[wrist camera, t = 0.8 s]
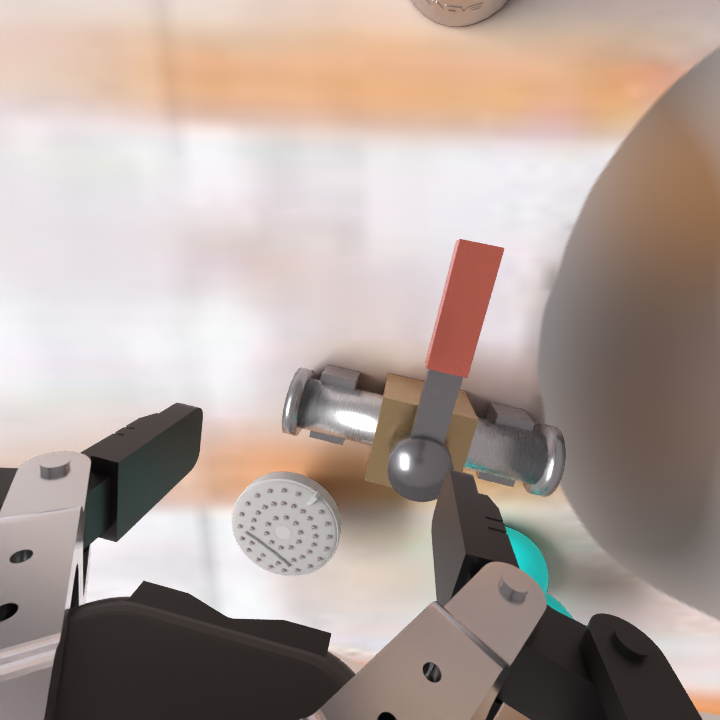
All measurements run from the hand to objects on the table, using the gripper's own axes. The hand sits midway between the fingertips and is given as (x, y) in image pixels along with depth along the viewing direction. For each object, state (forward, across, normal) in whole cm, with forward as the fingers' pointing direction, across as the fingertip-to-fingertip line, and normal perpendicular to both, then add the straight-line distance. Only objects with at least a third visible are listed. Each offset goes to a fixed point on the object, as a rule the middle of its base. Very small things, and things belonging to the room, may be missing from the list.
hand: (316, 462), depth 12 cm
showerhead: (+22, +4, +17) cm, 28 cm away
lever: (+15, -5, 0) cm, 16 cm away
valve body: (+23, -5, +7) cm, 24 cm away
